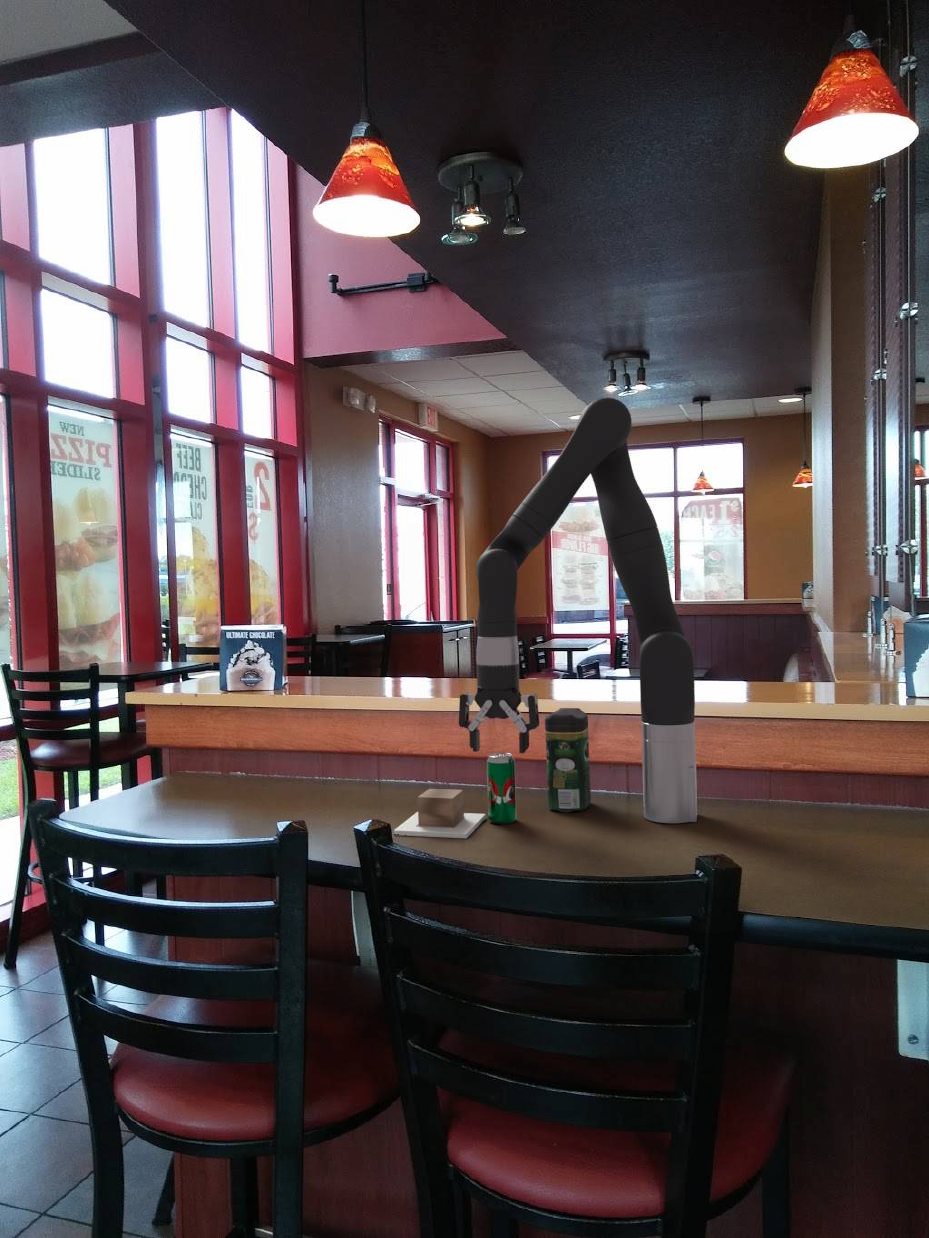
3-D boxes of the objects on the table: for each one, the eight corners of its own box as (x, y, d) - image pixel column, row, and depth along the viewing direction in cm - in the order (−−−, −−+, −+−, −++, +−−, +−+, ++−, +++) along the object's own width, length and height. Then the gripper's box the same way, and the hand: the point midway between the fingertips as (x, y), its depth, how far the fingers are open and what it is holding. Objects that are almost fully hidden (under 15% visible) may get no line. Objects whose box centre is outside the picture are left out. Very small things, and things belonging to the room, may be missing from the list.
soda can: (517, 817, 167) (515, 752, 166) (516, 825, 162) (513, 757, 161) (489, 817, 167) (487, 752, 167) (487, 825, 162) (485, 757, 162)
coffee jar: (553, 799, 179) (550, 705, 179) (594, 801, 177) (591, 705, 176) (542, 812, 170) (540, 712, 169) (585, 814, 168) (582, 713, 167)
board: (485, 818, 167) (485, 813, 167) (466, 838, 155) (466, 833, 155) (418, 815, 171) (417, 810, 171) (393, 834, 158) (393, 829, 158)
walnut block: (464, 817, 165) (463, 789, 165) (453, 827, 159) (452, 798, 158) (430, 815, 167) (429, 788, 166) (418, 825, 160) (417, 797, 160)
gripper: (541, 659, 165) (542, 749, 166) (465, 659, 169) (466, 746, 170) (532, 664, 158) (534, 757, 159) (453, 663, 162) (455, 754, 163)
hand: (499, 751), depth 164 cm, fingers open, 8 cm apart
